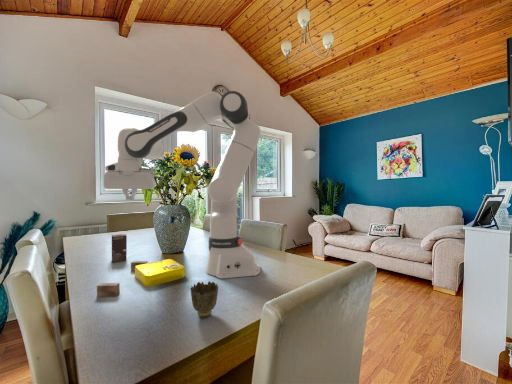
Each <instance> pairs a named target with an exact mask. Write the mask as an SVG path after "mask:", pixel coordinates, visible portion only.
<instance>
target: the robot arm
mask: <svg viewBox="0 0 512 384" xmlns="http://www.w3.org/2000/svg"><path fill="white" fill-rule="evenodd" d="M216 120H222V122H224V123H225V124H226V125H227V127H229V128H231V129H233V134H232V135H231V138H230V140H229V142H228V144H227V147H226V149H225V152H224V153H223V156H222V157H221V158H222V159H221V160H220V162H219V163H218V166H217V168H216V170H215V172H214V174H213V176H212V177H211V180H210V182H209V185H208V187H207V193H208V196H209V198H210V213H209V237H208V251H209V254H208V261H207V266H206V269H205V272H206V273H207V274H208V275H210V276H214V277H216V278H218V279H230V278H231V279H232V278H244V277H253V276H254V277H255V276H258V275H260V273H261V265H260V264H259V263H257V262H256V259H255V256H254V254H253V252H252V251H250V250H249V249H247V248H246V247H245V246H244V245H243V239H242V237H241V236H239V235H238V234H237V233H238V228H237V227H238V222H237V219H238V217H237V215H238V211H237V210H238V209H237V208H238V191H239V188H240V186H241V183H242V182H243V179H244V177H245V174H246V172H247V170H248V167H249V165H250V163H251V161H252V158H253V157H254V155H255V152H256V149H257V147H258V144H259V140H260V137H261V128H260V126H259V124H257V123H256V122H254V121H252V120H251V115H250V108H249V105H248V102H247V100H246V97H245V96H244V95H243V94H242V93H240V92H238V91H235V90H230V91H227V92H225V93H224V94H223V95H222V96H221V94H219V93H218V92H216V91H212V90H211V91H209V92H206V93H205V94H202V95H201V96H199V97H197V98H195V99H194V100H192V101H191V102H189V103H188V104H186V105H185V106H183V107H181V108H180V109H178V110H176V111H174V112H172V113H170V114H169V115H168V114H167V116H165V117H163V118H161V119H159V120H158V121H156V122H154V123H152V124H151V125H148V127H145V128H143V129H138V128H135V127H126V128H123V129H121V130H119V133H118V136H117V151H118V156H117V161H116V162H114V163H111V164H109V165H108V164H107V165H105V166H104V169H105V173H104V175H103V176H104V177H103V187H104V189H105V190H122V194H123V195H124V196H125V200H126V201H134V200H135V196H136V195H137V193H138V190H154V188H156V180H155V175H156V174H155V173H156V172H155V169H153V168H152V167H143V166H142V159H145V160H149V161H155V160H159V159H161V158H162V156H163V155H164V152H165V147H164V144H163V142H162V140H163V139H165V138H167V137H168V136H170V135H172V134H174V133H178V132H192V133H195V132H198V131H200V130H202V129H204V128H206V127H208V125H210V124H211V123H213V122H214V121H216ZM129 190H131V193H132V194H131V195H129V193H128V192H129Z"/></svg>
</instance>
